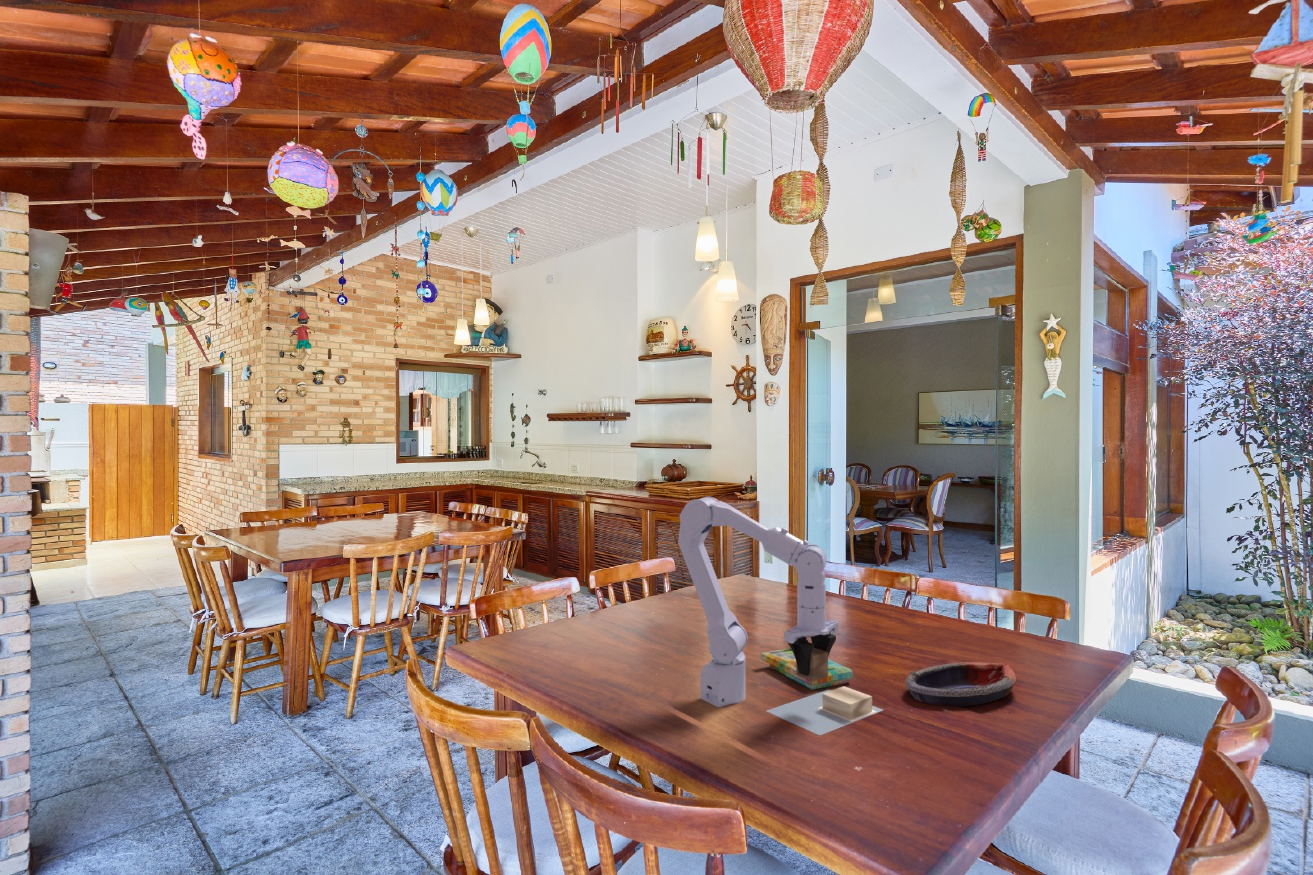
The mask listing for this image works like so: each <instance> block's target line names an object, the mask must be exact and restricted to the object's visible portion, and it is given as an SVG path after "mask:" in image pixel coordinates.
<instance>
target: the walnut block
mask: <svg viewBox="0 0 1313 875" xmlns="http://www.w3.org/2000/svg"><path fill="white" fill-rule="evenodd" d="M828 660H829V656H828V652H826V651H823V650H820V649H816V648H813V650H812V653H811V658H810V671H809V675H808V676H805V675H803V674H800V673H799V670H798V666H797V663H796V675H798V676H800V677H803V678H806V679H809V680H811V681H816V680H819V679H822V678H825V677H828Z"/></svg>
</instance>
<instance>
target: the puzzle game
mask: <svg viewBox="0 0 1313 875" xmlns="http://www.w3.org/2000/svg"><path fill="white" fill-rule="evenodd" d="M759 654H760V656H759V657H760V659H761V661H763V662H765V663H767V664H769V667H770V669H771V670H774V671H776V672H778V673H779V674H781V675H784V676H785V677H787V678H789V679H791V680H793V681H795V682H796V683H798V684H800V685H802V686H803V687H806V688H808V689H810V690H817V689H823V688H827V687H832V686H833V687H834V686H838V685H842V684H848V683H849V682H850V681H851V680H852V679H853V677H854V671H853V670H852V669H851V668H849V667H846V666H844V665H843V664H840V663H837V662H834V661H833V660H830V659H828V677H825V678H822V679H819V680H816V681H811V680H809V679H806V678H803V677H800V676H798V675H796V659H795V656H794V654H793V651H792V649H791V648H789V647H788V648H783V649H777V650H770V651H765V652H760V653H759Z"/></svg>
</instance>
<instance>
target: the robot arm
mask: <svg viewBox="0 0 1313 875" xmlns="http://www.w3.org/2000/svg"><path fill="white" fill-rule="evenodd" d="M679 520H680V524H679V530H678V531H679V533H678V540H677V542H678V545H679V546H678V547H679V549H680V552H681V554H682V557H683V560H684V562H685V565H686V568H687V570H688V572H689V576H690V577H691V580H692V581H691V582H692V584H693V585H694V589H695V590H696V591H695V592H696V593H697V596H698V598H699V601H700V604H701V607H702V609H703V613H704V614H705V616H706V619H707V623H706V624H707V625H706V633H707V634H706V635H707V636H708V643H709V644H708V649H709V653H710V656H711V659H710V661H709V662H708V663H707V664H704V665H703V666H702V668H701V669H700V700H702V701H705V702H706V703H708V704H711V705H712V706H714V707H717V708H721V707H724V706H728V705H733V704H739V703H742V702H744V701H745V700H746V655H745V653H744V649H745V648H746V646H747V644H748V640H749V638H748V637H749V636H748V633H747V631H746V629H745V628H744V627H743V625H741V624H740V622H739V621H738V618H737V616H736V615H735V614H734V613H733V612H732V611H731V610H730V608H729V606H728V603H727V600H726V598H725V595H724V593H723V591H722V587H721V584H720V582H719V580H718V579H719V578H718V577H717V575H716V572H715V569H714V566H713V564H712V562H711V560H710V557H709V554H708V551H707V548H706V545H705V544H704V542H705V540H706V538H707V535H709V532H710V530H711V529H712V528H713V527H726V526H727V527H730V528H732V529H734V530H735V531H738V532H740V533H743V534H744V535H746V536H749V538H752V539H754V540H756V541H758V542H760V543H761V545H762V548H763V551H764V552H767V554H769V555H771V556H773V557H774V558H777V559H778V560H780V561H782V562H784V563H785V564H787V565H789V566H791V567H794V569H795V571H796V573H797V582H796V584H797V587H796V588H797V590H796V594H797V596H796V597H797V605H796V606H797V616H796V617H797V625H795V626H793V627H792V628H789V629H788V630H786V631H783V642H786V643H787V644H788V646H789V647H790V648H791V649H792V651H793V654H794V656H795V659H796V663H797V666H798V670H799V673H800V674H803V675H805V676H808V675H809V671H810V658H811V653H812V650H813V648H816V649H820V650H823V651H826V652H828V657H829V656H830V652H831V650H832V648H833V646H834V644H835V643H836V641H837V635H836V634H832V633H831V632H833V633H835V632H839V622H838V621H835V620H831V619H830V620H827V617H826V616H827V610H826V609H827V602H826V601H827V595H826V594H827V592H826V591H827V587H826V584H827V583H826V582H825V581H826V573H825V570H824V569H825V568H826V566H827V563H828V562H827V560H828V558H827V555H826V552H825V551H824V550H823V549H822V548H821V547H820V546H819V545H817V544H810V541H808V540H806V539H804V541H803V540H802V539H800V538H798V537H797V536H794V535H793V534H791V533H789V529H787V528H786V527H782V528H780V527H778V526H776V527H772V528H768V527H767V526H764V525H763V524H761V523H760V522H758V521H756V520H754V519H753V518H751V517H750V516H748V515H747V514H744V513H743V512H741V511H740V510H738V509H736V508H735V507H733V506H731V505H730V504H728V503H726V502H724V501H721V500H718V499H717V498H715V497H713V496H704V497H701V498H699V499H691V500H689V501H688V502H687V503H686V504H685V506H684V507H683V509H682V511H681V513H680V514H679ZM809 638H810V639H811V640H810V641H811V642H809V640H808V639H809Z"/></svg>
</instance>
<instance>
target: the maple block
mask: <svg viewBox="0 0 1313 875" xmlns="http://www.w3.org/2000/svg"><path fill="white" fill-rule="evenodd" d="M872 706H873V696H872V695H869V694H868V693H867V694H866V693H863V692H861V691H858V690H855V689H852V688H850V687H847V686H840V687H838V688H836V689H832V691H829V692H826V693H823V694H822V708H823V709H826V710H828V711H831V712H833V713H835V714H838V715H840V716H843V717H845V718H848V719H850V720H851V719H854V718H856V717H859V716H861V715H864V714H866V713H869V712H871V711H872Z"/></svg>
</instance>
